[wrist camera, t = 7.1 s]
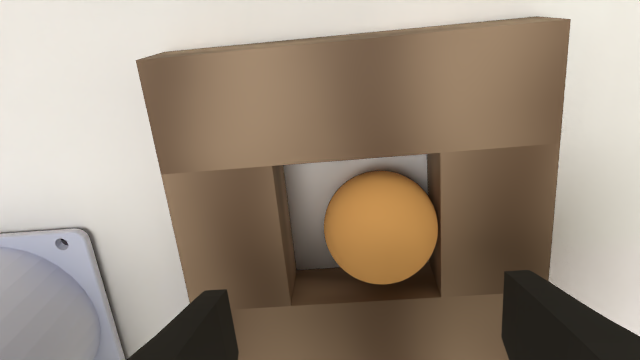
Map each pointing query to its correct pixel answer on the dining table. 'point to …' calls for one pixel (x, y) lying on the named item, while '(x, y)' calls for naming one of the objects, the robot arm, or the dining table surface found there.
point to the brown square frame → (360, 143)
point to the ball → (381, 227)
